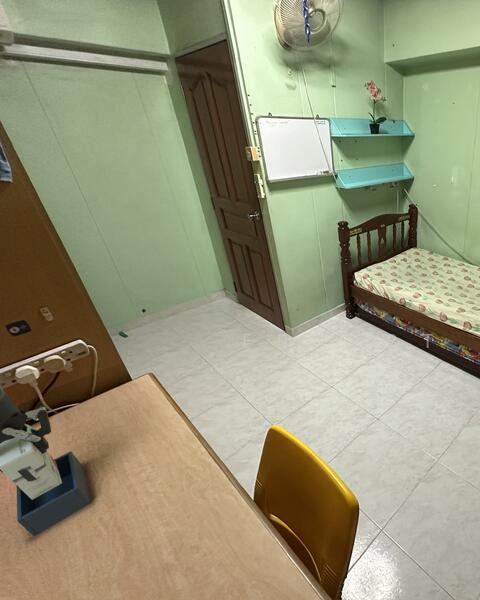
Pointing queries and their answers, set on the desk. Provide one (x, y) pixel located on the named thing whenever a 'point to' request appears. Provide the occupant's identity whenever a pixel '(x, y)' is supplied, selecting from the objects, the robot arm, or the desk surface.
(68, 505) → the bin
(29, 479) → the ink box
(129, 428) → the desk surface
